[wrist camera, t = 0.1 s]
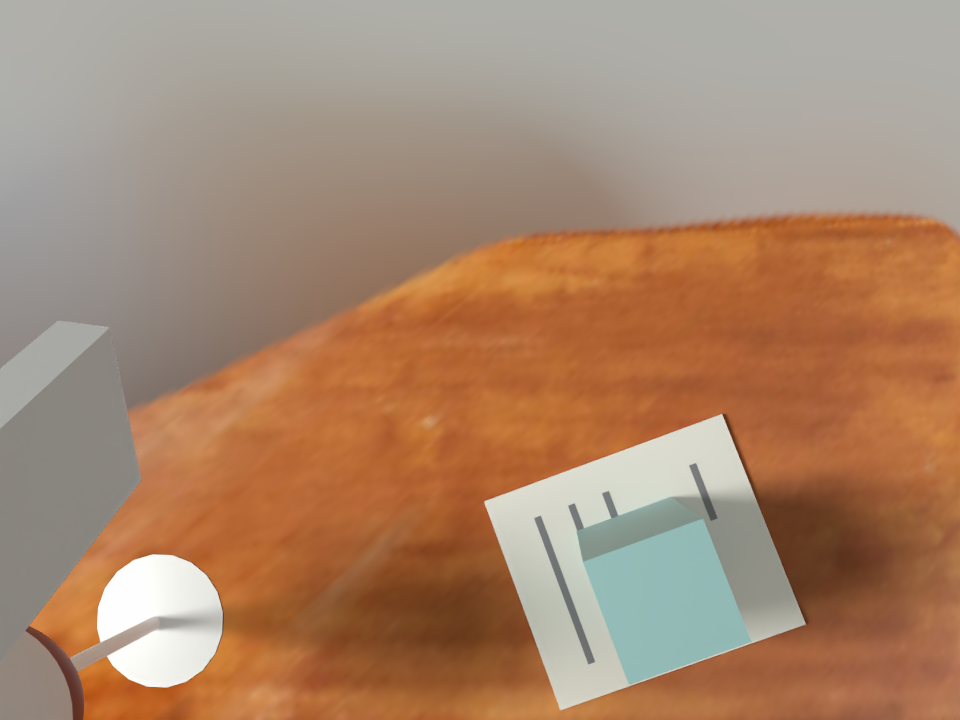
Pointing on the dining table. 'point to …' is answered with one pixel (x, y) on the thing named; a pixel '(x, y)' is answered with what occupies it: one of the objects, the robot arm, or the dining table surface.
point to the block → (661, 588)
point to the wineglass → (120, 640)
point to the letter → (615, 491)
